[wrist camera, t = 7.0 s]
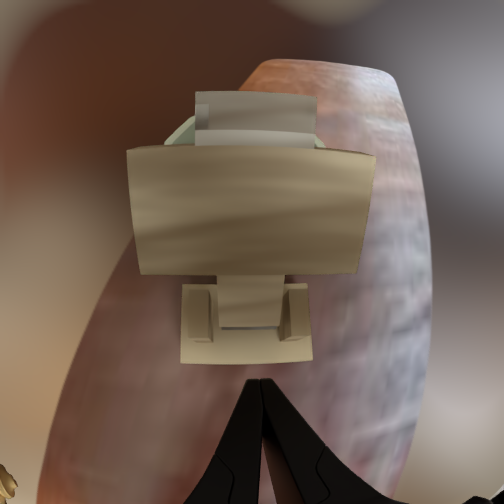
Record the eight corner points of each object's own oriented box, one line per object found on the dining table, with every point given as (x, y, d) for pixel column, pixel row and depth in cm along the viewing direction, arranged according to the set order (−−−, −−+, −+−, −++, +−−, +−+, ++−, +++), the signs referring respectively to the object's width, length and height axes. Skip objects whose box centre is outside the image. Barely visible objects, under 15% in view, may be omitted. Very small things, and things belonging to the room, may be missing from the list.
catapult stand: (302, 361, 18) (331, 358, 13) (187, 363, 18) (167, 362, 12) (298, 293, 20) (323, 264, 15) (188, 294, 19) (171, 264, 14)
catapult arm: (340, 331, 14) (379, 108, 9) (153, 334, 13) (125, 99, 8) (317, 283, 19) (337, 110, 14) (170, 284, 18) (158, 105, 13)
